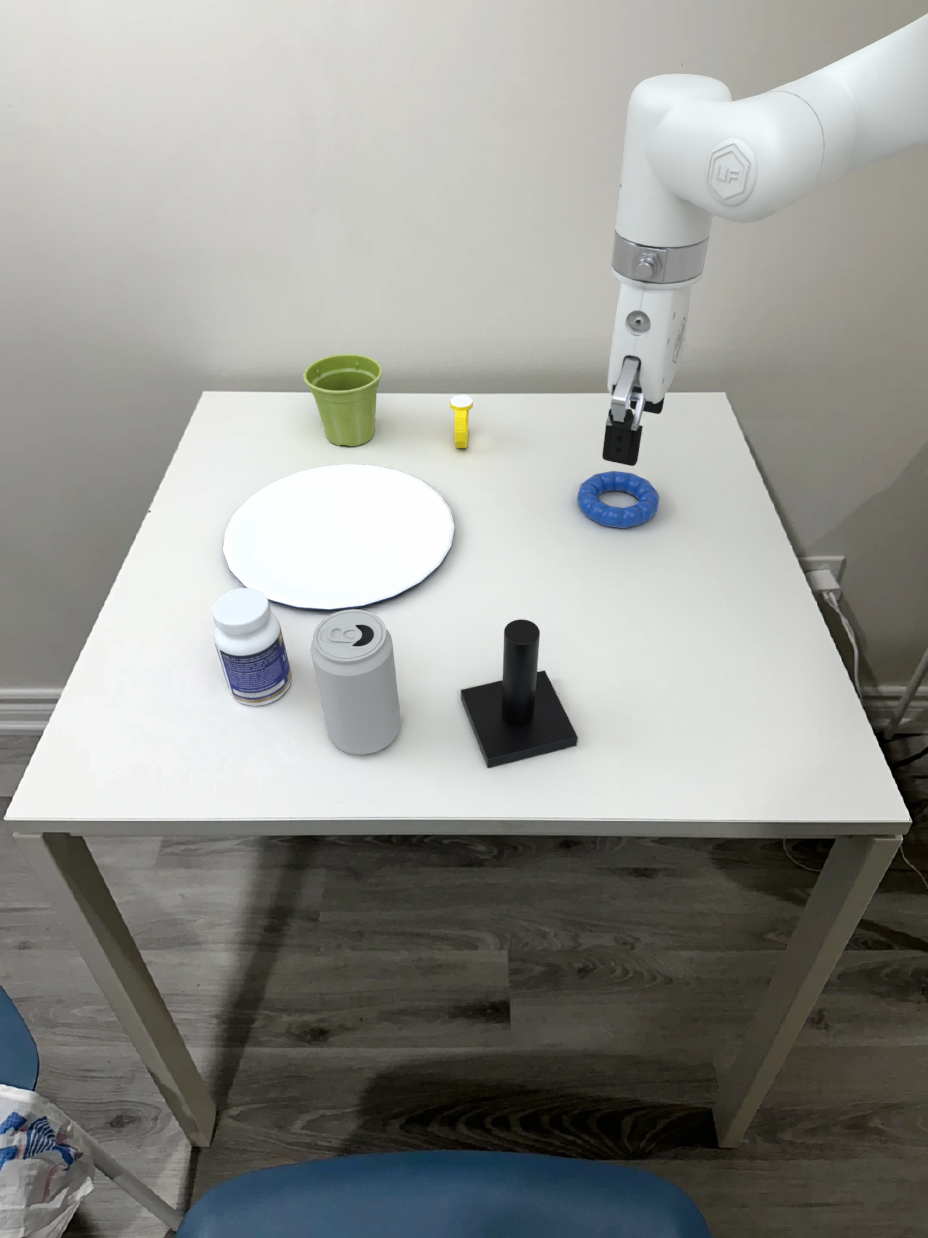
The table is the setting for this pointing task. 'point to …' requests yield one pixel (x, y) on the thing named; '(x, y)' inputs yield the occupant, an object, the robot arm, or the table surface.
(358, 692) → the beverage can
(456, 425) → the watch
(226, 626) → the pill bottle
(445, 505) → the plate
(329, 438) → the plant pot
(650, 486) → the ring
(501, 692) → the peg stand
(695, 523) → the table surface
